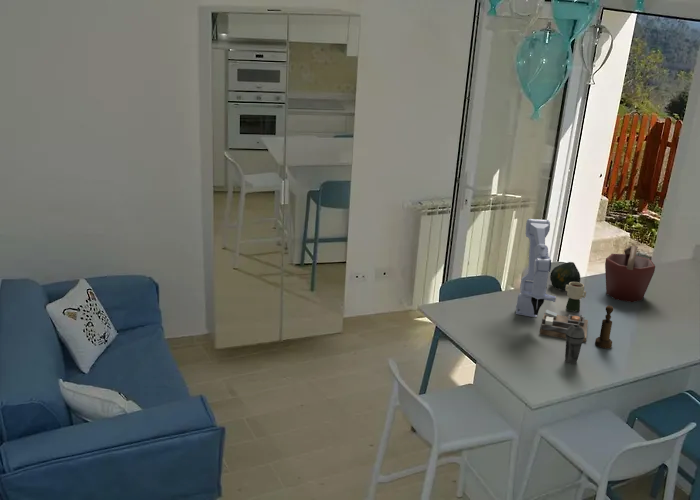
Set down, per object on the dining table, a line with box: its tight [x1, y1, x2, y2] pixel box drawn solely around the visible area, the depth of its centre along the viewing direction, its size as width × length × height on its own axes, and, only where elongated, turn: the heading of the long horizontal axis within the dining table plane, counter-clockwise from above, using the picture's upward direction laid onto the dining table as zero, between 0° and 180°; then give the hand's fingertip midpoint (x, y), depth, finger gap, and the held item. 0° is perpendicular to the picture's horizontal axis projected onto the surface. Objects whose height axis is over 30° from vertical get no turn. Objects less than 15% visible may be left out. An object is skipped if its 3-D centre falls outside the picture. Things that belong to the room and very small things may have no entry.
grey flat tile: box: [544, 309, 558, 318], centre depth 311 cm, size 5×4×1 cm
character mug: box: [564, 282, 587, 312], centre depth 323 cm, size 11×7×13 cm, turn 38°
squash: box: [549, 261, 581, 291], centre depth 350 cm, size 14×15×15 cm
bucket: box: [604, 245, 656, 303], centre depth 341 cm, size 24×22×25 cm
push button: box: [571, 315, 581, 322], centre depth 307 cm, size 4×4×2 cm
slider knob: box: [545, 316, 554, 326], centre depth 300 cm, size 3×5×4 cm, turn 160°
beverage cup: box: [564, 314, 585, 365], centre depth 272 cm, size 7×7×20 cm
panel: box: [539, 312, 589, 343], centre depth 303 cm, size 19×20×4 cm
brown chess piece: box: [594, 304, 614, 350], centre depth 287 cm, size 7×6×18 cm
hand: (535, 314), depth 301 cm, fingers closed
